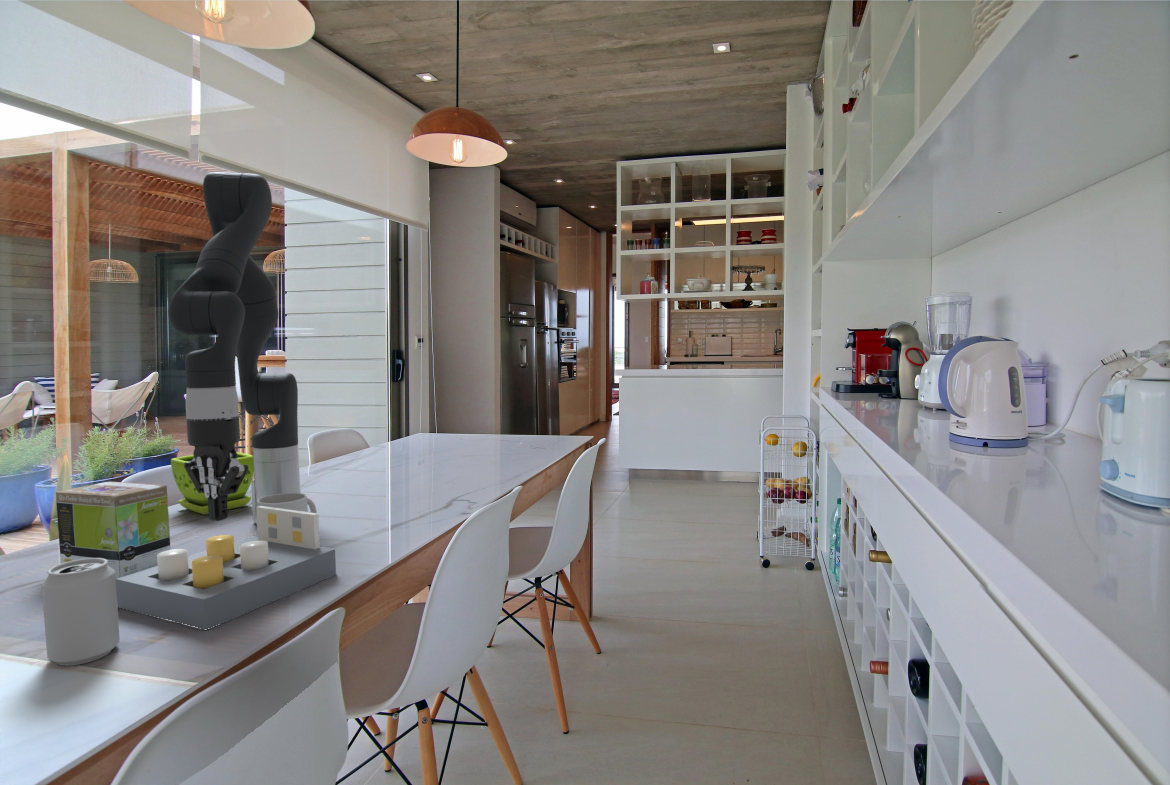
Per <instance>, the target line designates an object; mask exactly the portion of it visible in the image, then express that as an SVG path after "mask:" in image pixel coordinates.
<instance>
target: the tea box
mask: <svg viewBox="0 0 1170 785" xmlns="http://www.w3.org/2000/svg"><path fill="white" fill-rule="evenodd" d="M55 498H56V499H55V503H56V515H57V531H58V543H59V558H60V559H59V560H60V564H62V563H65V562H69V561H74V560H79V559H86V558H103V559H106V560H108V564H107V565H108V566H109V567H111V568H112V569H114V570H115V580H116V579H117V578H120V577H124V576H127V575H130V574H133V573H136V572H140V571H143V570H146V569H149V568H152V567H155V566H158V562H157V554H159V553H161V552H163V551H167V550H172V549H171V537H170V536H171V535H170V534H171V533H170V522H169V521H170V520H169V516H170V515H169V500H168V498H169V497H168V486H167V485H166V484H155V483H154V484H153V483H140V482H127V481H125V482H124V481H123V482H121V481H105V482H99V483H94V484H89V485H84V486H79V487H74V488H70V489H69V488H68V489H63V490H59V491H56V492H55Z"/></svg>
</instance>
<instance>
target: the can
mask: <svg viewBox="0 0 1170 785" xmlns="http://www.w3.org/2000/svg"><path fill="white" fill-rule="evenodd" d="M107 564H108V560H106V559H103V558H86V559H79V560H74V561H69V562H65V563H62V564H61V563H58V564H56V565H53V566H52V567H51V568H49V569H48V570H47V571H46V574H48V575H47V577H46V578H45V579H44V580H43V581H42V583H41V595H42V610H43V620H44V622H43V623H44V634H45V644H46V645H45V646H46V657H47V659H48V660H49V661H51V662H53V663H56V664H57V665H60V666H65V667H66V666H78V665H83V664H87V663H90V662H94V661H97V660H99V659H100V658H103V657H105V656H107V655H109V654H110V653H111V652H112V651H113V650H114V648H115V647H116V646H117V645H119V643H120V624H119V612H118V609H119V608H118V604H117V590H116V579H115V570H114V569H112V568H111V567H109V566H108V565H107ZM112 649H113V650H112ZM111 650H112V651H111Z"/></svg>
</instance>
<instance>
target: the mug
mask: <svg viewBox="0 0 1170 785" xmlns="http://www.w3.org/2000/svg"><path fill="white" fill-rule="evenodd" d="M259 506H266V507H273V508H281V509H288V510H295V511H303V512H309V511H310V513H317V514H318V512H317V507H316V504H315V502H314V501H313V500H312V499H311V498H308V495H307V494H305V493H302V492H301V493H280V494H273V495H268V496H264V497H262V498H259V499H258V500H257V507H259ZM308 508H309V509H308Z"/></svg>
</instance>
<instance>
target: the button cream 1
mask: <svg viewBox="0 0 1170 785" xmlns="http://www.w3.org/2000/svg"><path fill="white" fill-rule="evenodd" d="M188 553H189V552H188V549H186V548H173V549H171V550H167V551H163V552H161V553H159V554H157V562H158V577H159V580H164V581H171V580H174V579H177V578H180V577H183V576H186V575H189V566H188V556H189V554H188Z"/></svg>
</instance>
